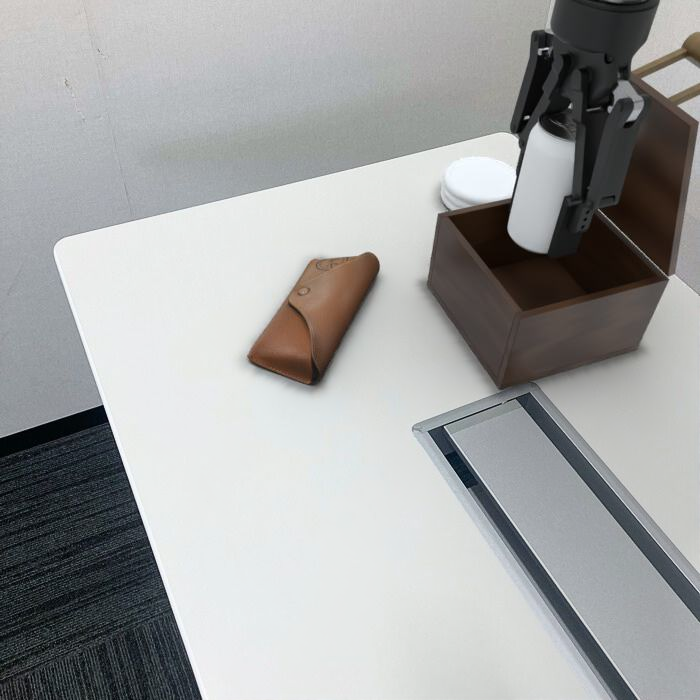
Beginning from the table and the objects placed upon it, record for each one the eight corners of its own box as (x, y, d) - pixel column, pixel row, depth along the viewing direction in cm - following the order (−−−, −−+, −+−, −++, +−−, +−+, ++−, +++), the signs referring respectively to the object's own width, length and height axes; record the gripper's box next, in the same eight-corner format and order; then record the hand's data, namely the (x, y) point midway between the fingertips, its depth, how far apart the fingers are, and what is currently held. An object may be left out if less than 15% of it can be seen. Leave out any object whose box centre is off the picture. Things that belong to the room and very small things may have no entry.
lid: (690, 126, 58) (804, 71, 59) (570, 35, 68) (668, -11, 69) (668, 277, 72) (760, 232, 72) (571, 182, 82) (652, 143, 83)
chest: (499, 390, 74) (520, 319, 67) (426, 284, 85) (437, 213, 78) (637, 349, 79) (670, 279, 72) (551, 254, 90) (573, 184, 82)
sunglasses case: (309, 254, 87) (339, 221, 82) (357, 291, 88) (389, 260, 83) (242, 361, 75) (271, 329, 70) (298, 401, 76) (331, 373, 71)
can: (549, 209, 76) (580, 99, 68) (586, 248, 72) (624, 136, 64) (494, 222, 74) (518, 111, 66) (528, 262, 70) (560, 149, 62)
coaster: (534, 204, 96) (540, 181, 94) (481, 233, 92) (486, 209, 89) (476, 169, 101) (481, 146, 99) (423, 195, 97) (427, 171, 94)
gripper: (502, -57, 61) (460, 183, 78) (651, 46, 49) (563, 304, 66) (580, -65, 63) (522, 170, 80) (741, 32, 51) (633, 286, 68)
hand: (541, 230), depth 73 cm, fingers closed on can, 6 cm apart
